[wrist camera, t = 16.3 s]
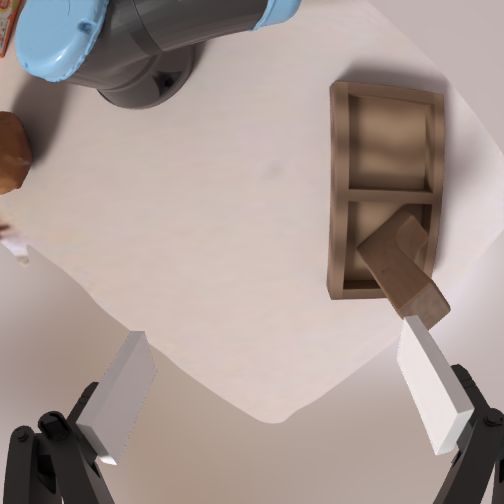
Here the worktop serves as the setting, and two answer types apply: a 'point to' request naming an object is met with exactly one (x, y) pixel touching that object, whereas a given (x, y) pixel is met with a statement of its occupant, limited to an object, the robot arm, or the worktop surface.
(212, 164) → the worktop surface
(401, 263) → the wooden block
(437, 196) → the tray
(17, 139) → the butternut squash
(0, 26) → the cracker box
